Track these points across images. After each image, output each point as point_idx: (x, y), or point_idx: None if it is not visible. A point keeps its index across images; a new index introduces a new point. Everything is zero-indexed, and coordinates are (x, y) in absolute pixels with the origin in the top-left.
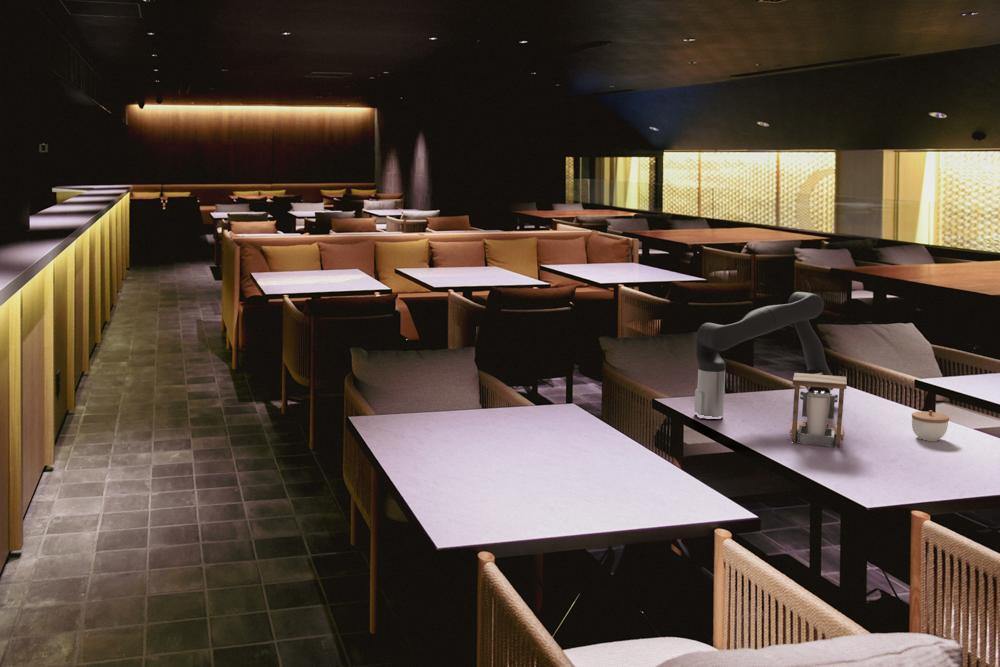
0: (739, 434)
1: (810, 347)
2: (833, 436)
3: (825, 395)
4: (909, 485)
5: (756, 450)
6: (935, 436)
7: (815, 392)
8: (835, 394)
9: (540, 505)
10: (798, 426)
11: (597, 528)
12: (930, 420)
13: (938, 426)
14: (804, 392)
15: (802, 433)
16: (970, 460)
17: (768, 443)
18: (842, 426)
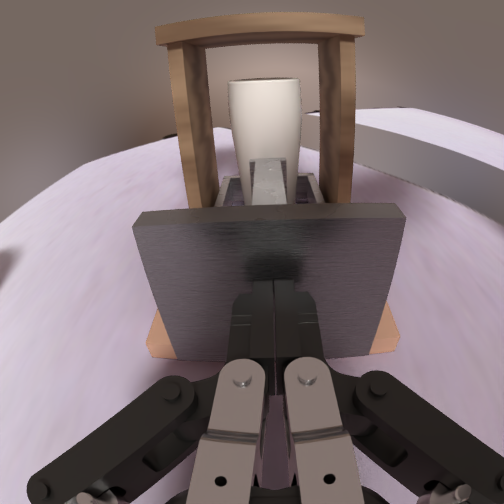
0: (453, 215)
1: None
2: (224, 178)
3: (240, 84)
4: (155, 152)
5: (370, 169)
6: None
7: (336, 496)
8: (44, 494)
9: (422, 117)
10: None
11: (377, 109)
12: None
13: None
14: (480, 488)
15: (303, 175)
16: (7, 228)
17: (371, 191)
18: (151, 326)
